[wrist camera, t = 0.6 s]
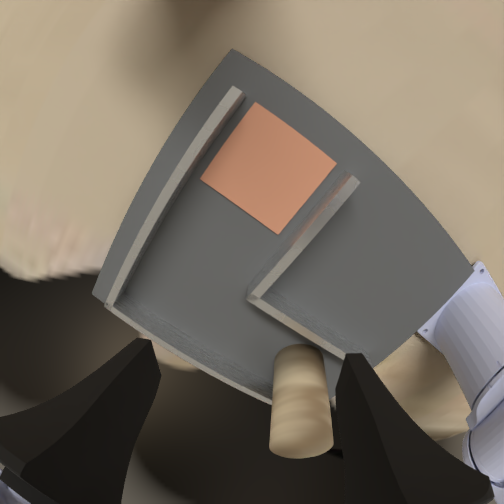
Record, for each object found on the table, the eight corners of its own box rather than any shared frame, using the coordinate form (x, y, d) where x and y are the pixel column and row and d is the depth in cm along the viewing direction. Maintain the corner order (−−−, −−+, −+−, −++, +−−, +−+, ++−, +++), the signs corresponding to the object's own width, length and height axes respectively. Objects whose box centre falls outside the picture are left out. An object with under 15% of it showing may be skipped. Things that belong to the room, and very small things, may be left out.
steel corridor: (448, 275, 18) (460, 288, 16) (301, 401, 24) (301, 418, 22) (238, 90, 14) (232, 85, 12) (115, 292, 21) (103, 306, 19)
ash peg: (333, 357, 21) (346, 441, 14) (300, 382, 23) (302, 462, 16) (296, 335, 21) (300, 425, 13) (264, 363, 22) (256, 448, 15)
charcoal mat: (469, 266, 18) (475, 271, 17) (302, 410, 26) (302, 416, 25) (234, 52, 14) (231, 48, 13) (96, 288, 22) (91, 294, 21)
